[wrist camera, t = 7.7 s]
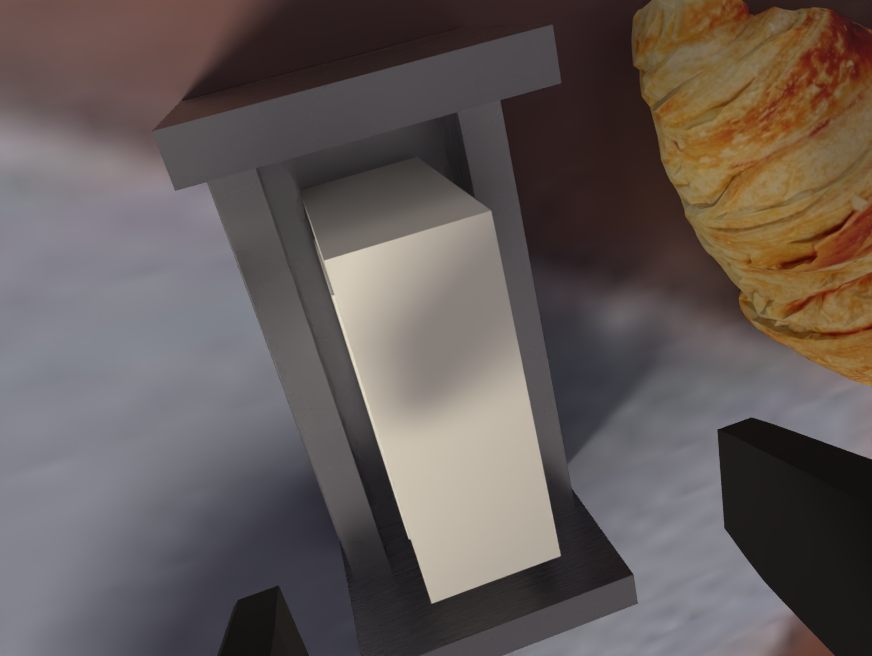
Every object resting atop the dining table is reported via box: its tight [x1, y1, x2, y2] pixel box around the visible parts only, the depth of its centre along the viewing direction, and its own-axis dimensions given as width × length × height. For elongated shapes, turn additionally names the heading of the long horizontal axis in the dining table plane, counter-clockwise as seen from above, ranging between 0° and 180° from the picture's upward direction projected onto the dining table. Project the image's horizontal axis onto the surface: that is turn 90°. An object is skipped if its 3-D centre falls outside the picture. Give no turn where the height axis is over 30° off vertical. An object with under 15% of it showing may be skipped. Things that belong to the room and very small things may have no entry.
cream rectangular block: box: [300, 157, 561, 603], centre depth 17 cm, size 8×3×6 cm, turn 13°
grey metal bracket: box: [152, 24, 638, 656], centre depth 18 cm, size 14×7×6 cm, turn 14°
